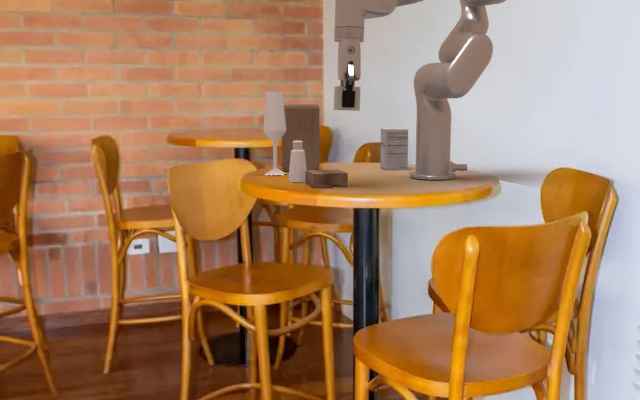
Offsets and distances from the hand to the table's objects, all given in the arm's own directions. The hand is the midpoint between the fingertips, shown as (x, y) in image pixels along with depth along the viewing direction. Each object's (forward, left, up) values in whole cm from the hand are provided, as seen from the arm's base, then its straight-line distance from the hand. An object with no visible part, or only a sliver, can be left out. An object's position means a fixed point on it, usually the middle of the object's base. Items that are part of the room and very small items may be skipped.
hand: (346, 106), depth 183 cm
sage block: (0, 0, -1) cm, 1 cm away
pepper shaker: (+12, -8, -21) cm, 25 cm away
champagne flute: (+18, -24, -21) cm, 37 cm away
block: (+10, -34, -21) cm, 41 cm away
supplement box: (-19, -35, -21) cm, 45 cm away
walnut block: (+5, +1, -21) cm, 21 cm away
